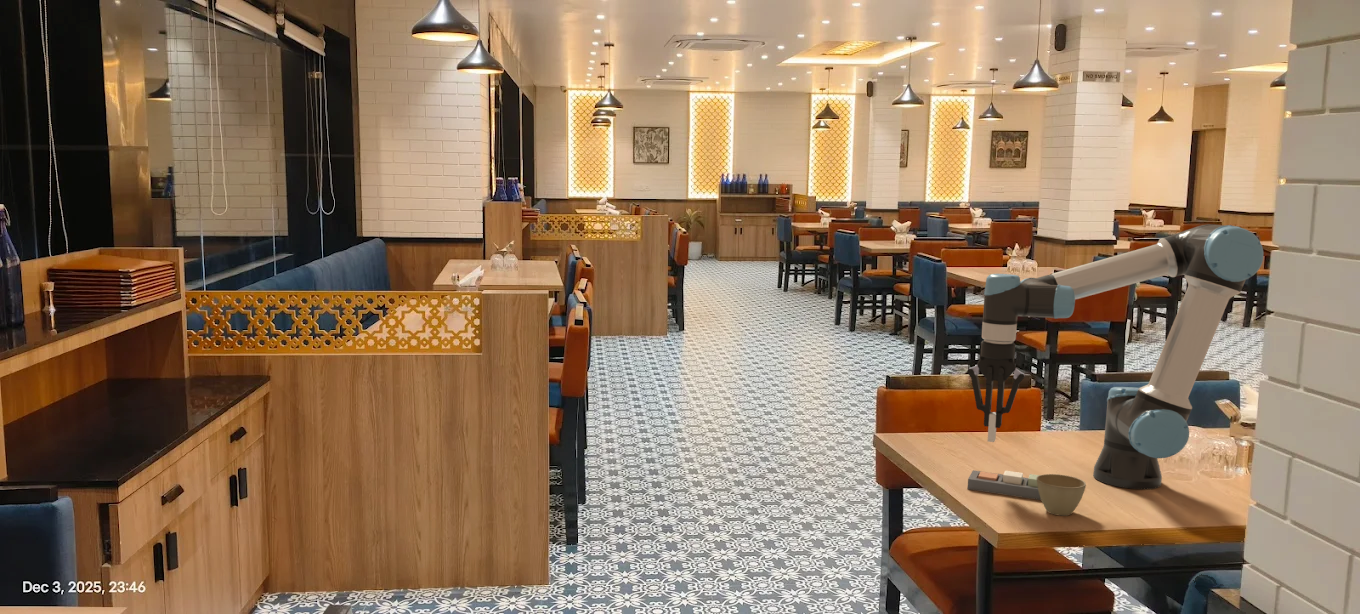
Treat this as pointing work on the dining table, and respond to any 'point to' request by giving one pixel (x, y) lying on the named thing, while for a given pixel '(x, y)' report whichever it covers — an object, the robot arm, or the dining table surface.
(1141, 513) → the dining table surface
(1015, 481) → the cream key
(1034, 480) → the sage key
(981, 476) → the peach key
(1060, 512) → the flower pot
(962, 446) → the dining table surface
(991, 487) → the keyguard
